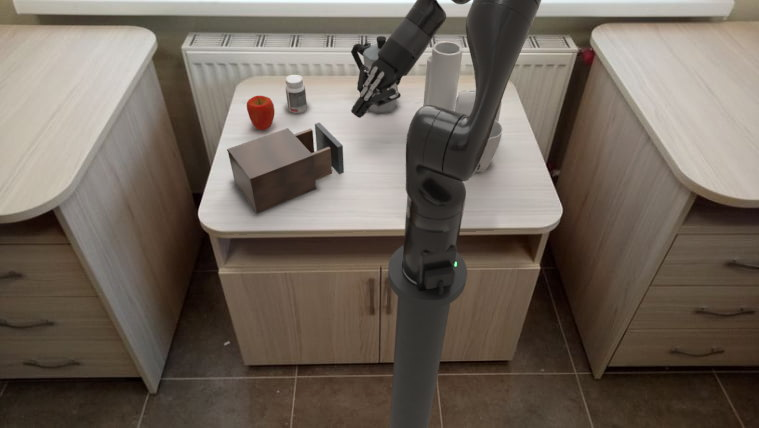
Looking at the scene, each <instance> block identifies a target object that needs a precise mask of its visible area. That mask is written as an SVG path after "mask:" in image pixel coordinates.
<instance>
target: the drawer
mask: <svg viewBox="0 0 759 428" xmlns="http://www.w3.org/2000/svg"><path fill="white" fill-rule="evenodd" d="M314 132H315V142H314ZM314 132H313V129H312V128H307V129H305V130H302V131H299V132H296V133H293V134H294V135H295V136H296V137H297V138H298V139H299V140H300V142H301V143H302V144H303V145H304V146H305V147H306V148H307V149H308V150H309V151H310V152H311V153H312V155H313V159H314V170H315V181H317V180H320V179H322V178H325V177H327V176H330V175H333V170H334V171H335V172H336V173H337V174H338V175H341V174H344V173H345V169H344V168H345V165H344V145H343V144H342V143H341V142H340V141H339V140H338V139H337V138H336V137H335V136H334V135H333V134H332V133H331V132H330V131H329V130H328V129H327V128H326V127H325V126H324V125H323V124H322V123H321V122H317V123H314ZM315 144H316V151H315Z"/></svg>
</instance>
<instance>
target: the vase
mask: <svg viewBox="0 0 759 428" xmlns="http://www.w3.org/2000/svg"><path fill="white" fill-rule="evenodd" d="M463 49H464V47H463V46H462V45H461V44H460V43H458V42H454V41H448V40H443V41H442V40H441V41H437V42H435V43H434V44H433V45H432V48H431V55H428V56H427V58H426V68H425V69H426V70H425V81H424V93H423V103H422V107H423V106H425V105H434V106H438V107H441V108H445V109H448V110H451V111H455V105H456V99H457V97H458V88H459V81H460V73H461V67H462V57H463Z"/></svg>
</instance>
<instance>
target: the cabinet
mask: <svg viewBox="0 0 759 428" xmlns="http://www.w3.org/2000/svg"><path fill="white" fill-rule="evenodd" d="M294 134H295V133H293V132H292V131H291V129H289V127H286V128H284V129H281V130H278V131H276V132H273V133H269V134H267V135H264V136H262V137H261V136H260V137H258V138H255V139H252V140H249V141H247V142H243V143H241V144H237V145H235V146H232V147H230V148H227V149H226V150H227V154H228V158H229V163H230V167H231V172H232V176H233V181H234V185H236V187H237V188H238V190H239V191H240V192H241V194H242V195H243V196H244V198H245V199H246V200H247V202H248V204H249V205H250V206H251V207H252V209H253V210H254V212H255V213H256V214H260V213H262V212H264V211H267V210H270V209H271V208H274V207H276V206H279V205H281V204H283V203H286V202H289V201H292V200H294V199H296V198H298V197H300V196H303V195H306V194H309V193H311V192H313V191H315V190H317V180H315V170H314V159H313V155H312V153H311V152H310V151H309V150H308V149H307V148H306V147H305V146H304V145H303V144H302V143H301V142H300V140H299V139H298V138H297V137H296V136H295V135H294Z"/></svg>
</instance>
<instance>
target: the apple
mask: <svg viewBox="0 0 759 428" xmlns="http://www.w3.org/2000/svg"><path fill="white" fill-rule="evenodd" d="M246 111H247V114H248V118H249V119H250V122H251V124H252V125H253V127H254V128H255V129H257V130H258V131H266V130H268V129H269V128H271V127H272V124H273V121H274V118H275V113H276V111H275V105H274V102H273V100H272V99H271V98H270V97H268V96H264V95H255V96H252V97H250V98H249V99H248V100H247V102H246Z"/></svg>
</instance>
